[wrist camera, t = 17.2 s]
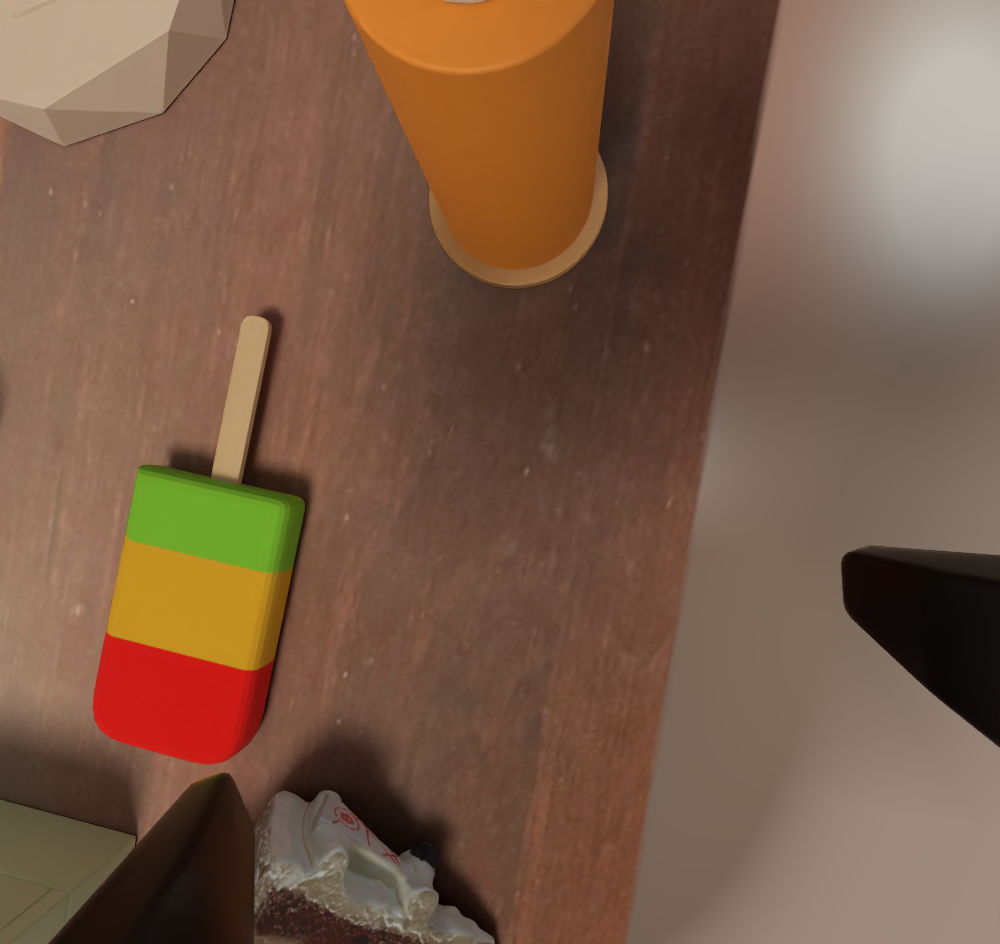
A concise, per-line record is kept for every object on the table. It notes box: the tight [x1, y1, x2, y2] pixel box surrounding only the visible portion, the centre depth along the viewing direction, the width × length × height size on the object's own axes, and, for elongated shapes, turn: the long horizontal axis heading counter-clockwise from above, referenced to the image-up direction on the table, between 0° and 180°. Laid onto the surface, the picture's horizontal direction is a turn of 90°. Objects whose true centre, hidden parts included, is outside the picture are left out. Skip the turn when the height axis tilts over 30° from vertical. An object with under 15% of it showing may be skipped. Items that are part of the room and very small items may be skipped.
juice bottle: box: [344, 0, 614, 270], centre depth 14 cm, size 5×5×12 cm
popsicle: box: [93, 316, 305, 764], centre depth 21 cm, size 6×15×2 cm, turn 168°
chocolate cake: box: [253, 790, 495, 944], centre depth 19 cm, size 10×7×12 cm
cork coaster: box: [429, 152, 608, 289], centre depth 20 cm, size 6×6×1 cm
